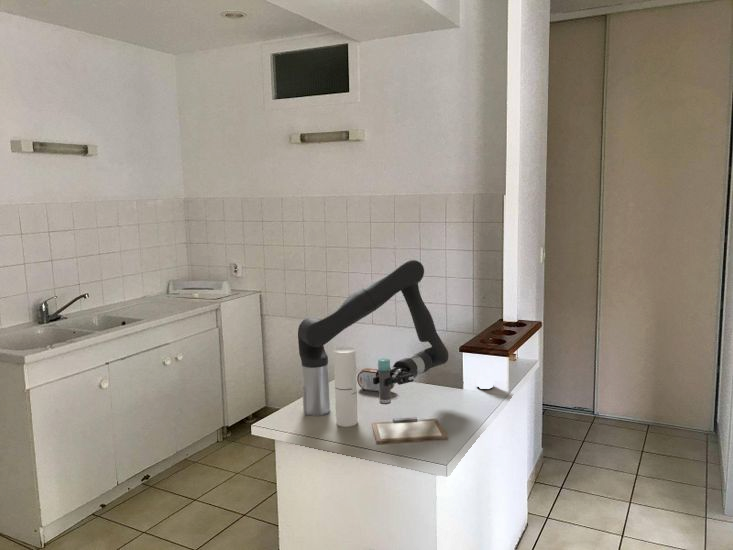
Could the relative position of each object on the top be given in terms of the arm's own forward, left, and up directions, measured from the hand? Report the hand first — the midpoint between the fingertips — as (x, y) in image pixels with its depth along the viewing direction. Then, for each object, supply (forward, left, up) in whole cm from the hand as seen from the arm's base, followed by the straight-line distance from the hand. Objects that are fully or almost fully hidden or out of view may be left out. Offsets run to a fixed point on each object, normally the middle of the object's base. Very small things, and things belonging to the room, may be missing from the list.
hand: (379, 382), depth 191 cm
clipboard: (+9, 0, -17) cm, 19 cm away
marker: (+2, +2, -7) cm, 8 cm away
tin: (+3, +41, -17) cm, 44 cm away
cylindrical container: (-10, +11, -17) cm, 22 cm away
